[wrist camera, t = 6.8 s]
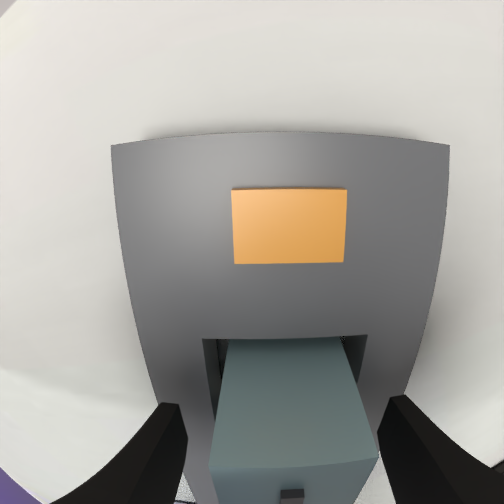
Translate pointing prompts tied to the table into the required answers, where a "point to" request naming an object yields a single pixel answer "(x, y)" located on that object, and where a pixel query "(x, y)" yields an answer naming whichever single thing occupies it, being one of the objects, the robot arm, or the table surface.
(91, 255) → the table surface
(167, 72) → the table surface
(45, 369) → the table surface
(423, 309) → the control panel
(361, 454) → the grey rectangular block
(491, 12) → the table surface
